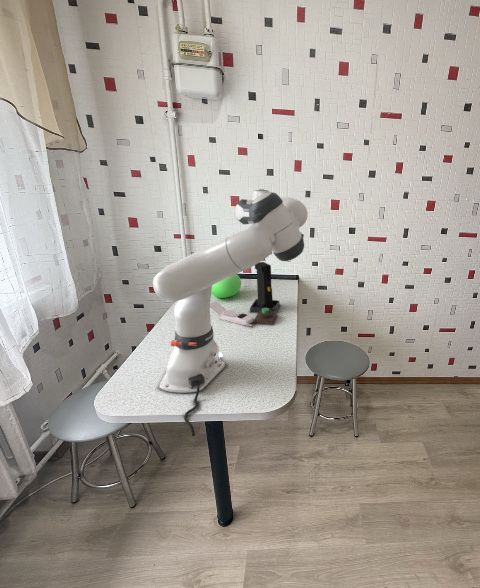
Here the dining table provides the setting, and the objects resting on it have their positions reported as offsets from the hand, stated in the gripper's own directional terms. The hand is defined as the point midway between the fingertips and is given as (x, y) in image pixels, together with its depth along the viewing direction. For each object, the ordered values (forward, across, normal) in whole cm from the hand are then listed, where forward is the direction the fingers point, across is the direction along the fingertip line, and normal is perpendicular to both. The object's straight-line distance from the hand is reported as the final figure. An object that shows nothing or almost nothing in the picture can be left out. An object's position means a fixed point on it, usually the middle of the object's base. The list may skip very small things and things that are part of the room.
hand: (264, 256), depth 155 cm
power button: (+23, +10, +7) cm, 26 cm away
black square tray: (+27, 0, 0) cm, 27 cm away
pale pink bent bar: (+27, +18, -6) cm, 33 cm away
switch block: (+27, +10, +7) cm, 30 cm away
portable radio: (+26, 0, 0) cm, 27 cm away
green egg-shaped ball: (+27, -3, -28) cm, 39 cm away
